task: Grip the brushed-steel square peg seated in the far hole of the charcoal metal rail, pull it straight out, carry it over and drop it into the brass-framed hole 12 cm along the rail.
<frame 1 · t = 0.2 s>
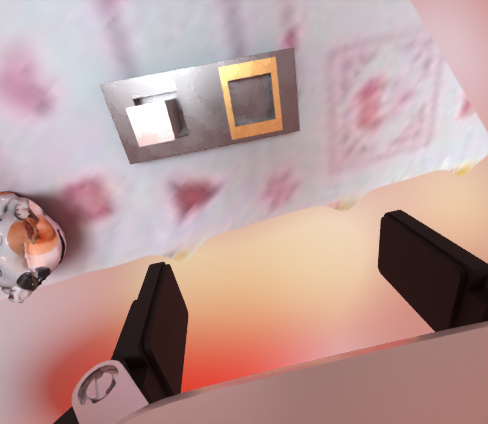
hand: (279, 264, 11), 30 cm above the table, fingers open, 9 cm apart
hole rail: (207, 107, 36), on the table
steel peg: (164, 116, 35), point 1 cm above the table, touching hole rail
lucky cat figurine: (33, 223, 40), on the table
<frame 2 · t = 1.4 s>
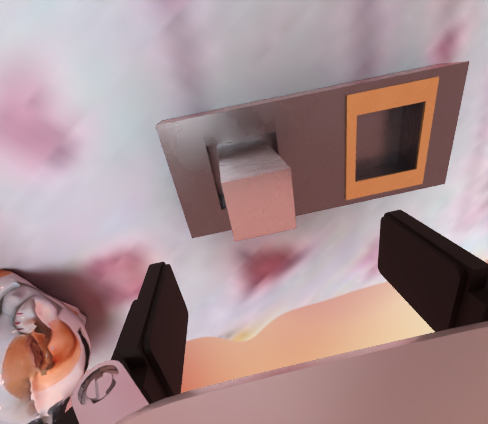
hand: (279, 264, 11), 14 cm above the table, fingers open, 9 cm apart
hole rail: (305, 149, 24), on the table
steel peg: (243, 164, 23), point 1 cm above the table, touching hole rail
lucky cat figurine: (41, 306, 29), on the table
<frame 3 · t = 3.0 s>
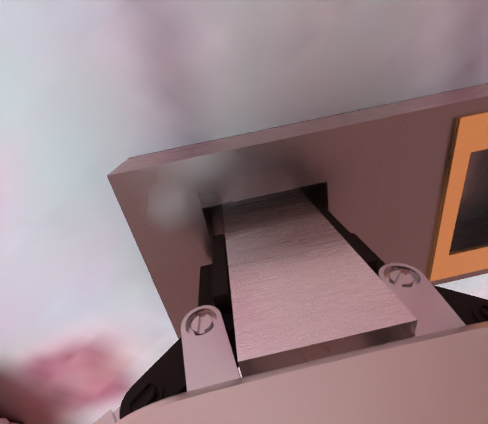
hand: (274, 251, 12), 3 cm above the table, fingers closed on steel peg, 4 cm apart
hole rail: (360, 198, 15), on the table
steel peg: (263, 224, 14), point 1 cm above the table, touching gripper, hole rail
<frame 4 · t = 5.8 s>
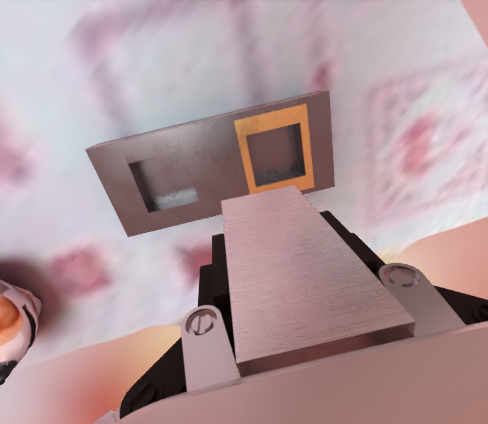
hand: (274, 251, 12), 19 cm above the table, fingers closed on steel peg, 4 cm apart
hole rail: (220, 162, 29), on the table
steel peg: (263, 225, 14), point 16 cm above the table, touching gripper
lucky cat figurine: (1, 292, 33), on the table
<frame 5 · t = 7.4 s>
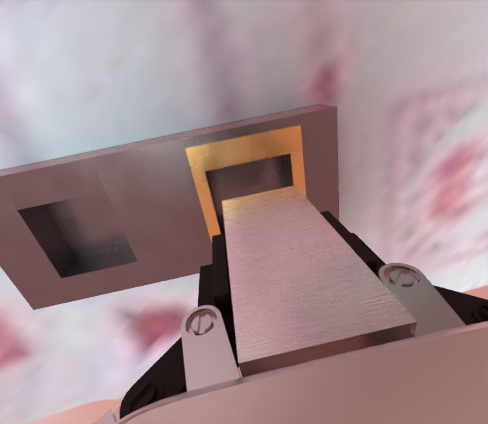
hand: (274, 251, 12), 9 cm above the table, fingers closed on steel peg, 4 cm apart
hole rail: (174, 202, 20), on the table
steel peg: (264, 225, 14), point 7 cm above the table, touching gripper
when the fingers open (5 cm above the table, at t = 8.6 s): steel peg drops 1 cm, resting on hole rail.
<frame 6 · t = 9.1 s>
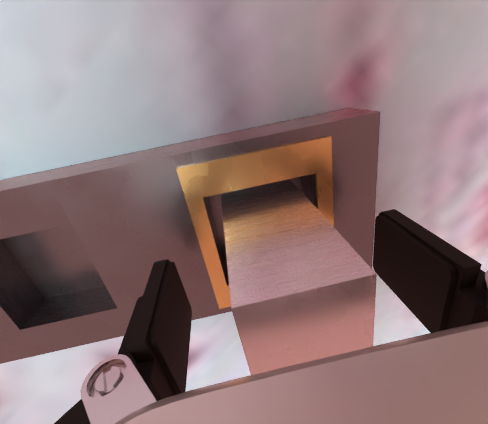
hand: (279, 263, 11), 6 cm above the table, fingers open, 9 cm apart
hole rail: (165, 229, 16), on the table
steel peg: (259, 212, 16), point 1 cm above the table, touching hole rail
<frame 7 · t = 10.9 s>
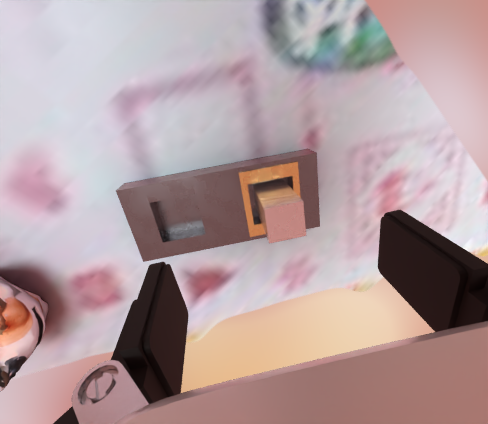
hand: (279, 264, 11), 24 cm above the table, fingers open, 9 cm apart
hole rail: (224, 201, 35), on the table
steel peg: (268, 194, 34), point 1 cm above the table, touching hole rail
lucky cat figurine: (12, 296, 37), on the table
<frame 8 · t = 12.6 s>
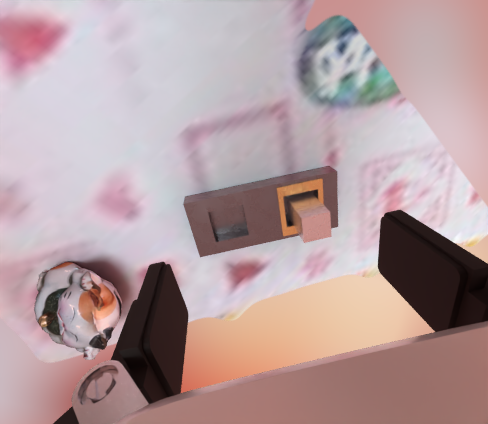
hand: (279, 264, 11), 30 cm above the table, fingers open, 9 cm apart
hole rail: (262, 208, 44), on the table
steel peg: (297, 202, 43), point 1 cm above the table, touching hole rail
lucky cat figurine: (89, 284, 46), on the table
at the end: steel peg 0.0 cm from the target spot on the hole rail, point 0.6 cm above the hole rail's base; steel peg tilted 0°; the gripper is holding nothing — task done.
